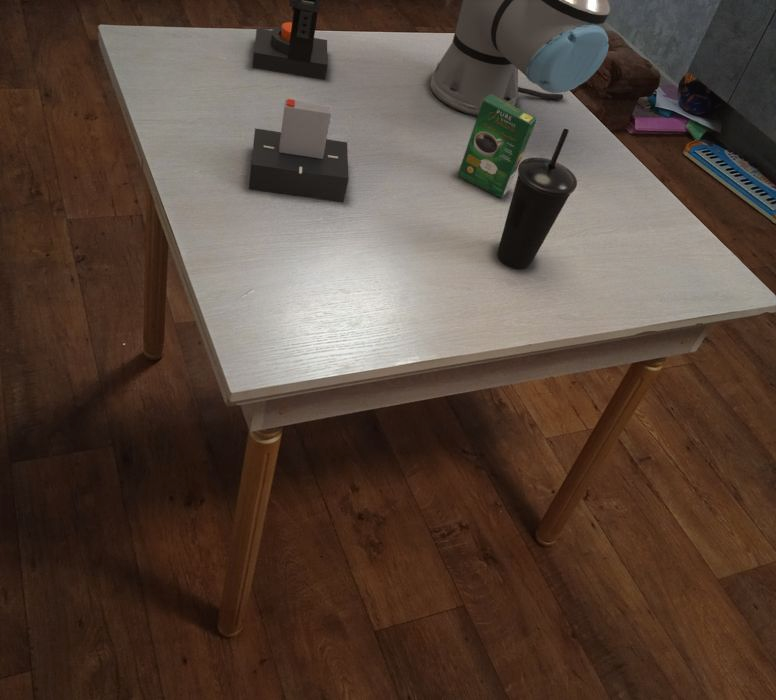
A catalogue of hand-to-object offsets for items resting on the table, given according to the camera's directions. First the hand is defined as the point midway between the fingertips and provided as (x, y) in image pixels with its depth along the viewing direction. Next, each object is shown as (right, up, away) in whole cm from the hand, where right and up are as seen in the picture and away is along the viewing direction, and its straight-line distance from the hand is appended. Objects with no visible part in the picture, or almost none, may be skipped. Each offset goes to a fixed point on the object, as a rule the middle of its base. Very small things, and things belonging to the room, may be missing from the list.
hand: (300, 35), depth 103 cm
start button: (-5, +12, +33) cm, 35 cm away
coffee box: (+25, -15, +21) cm, 36 cm away
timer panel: (-2, -15, +12) cm, 20 cm away
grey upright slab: (-1, -12, +10) cm, 16 cm away
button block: (-6, +9, +36) cm, 37 cm away
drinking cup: (+28, -27, +10) cm, 40 cm away
